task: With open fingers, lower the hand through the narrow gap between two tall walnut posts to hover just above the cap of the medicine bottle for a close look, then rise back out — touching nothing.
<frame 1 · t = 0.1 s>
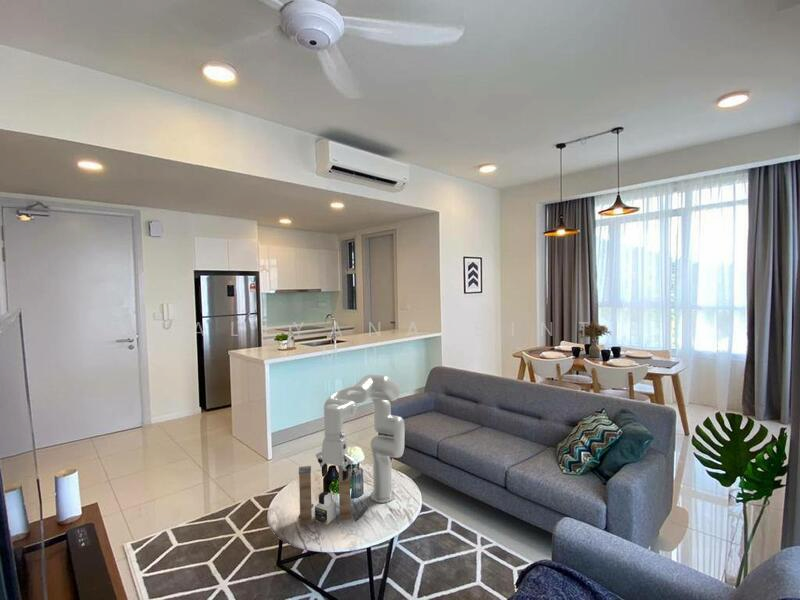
hand: (334, 477, 156), 31 cm above the table, fingers open, 9 cm apart
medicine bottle: (325, 519, 179), on the table
post 2: (345, 516, 181), on the table
post 1: (306, 521, 178), on the table
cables: (325, 518, 179), on the table
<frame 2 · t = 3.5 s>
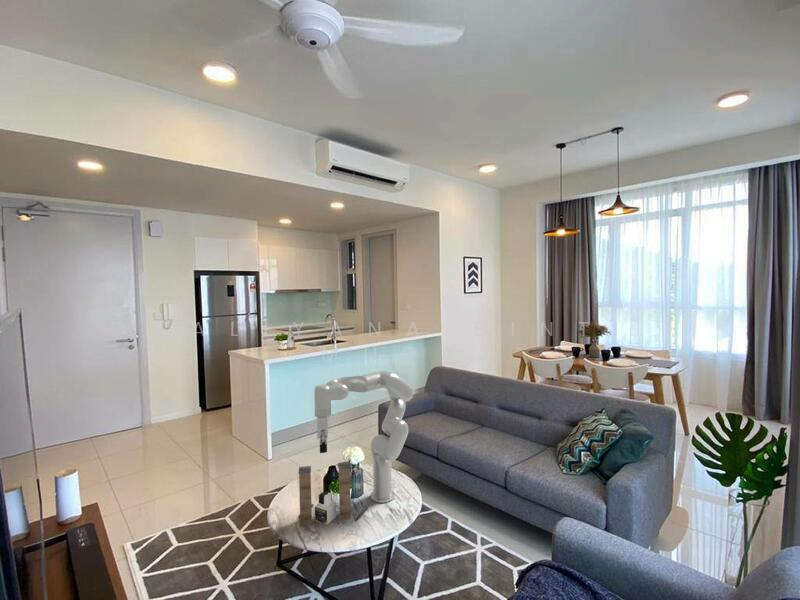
hand: (323, 448, 178), 34 cm above the table, fingers open, 9 cm apart
nothing on the table moved.
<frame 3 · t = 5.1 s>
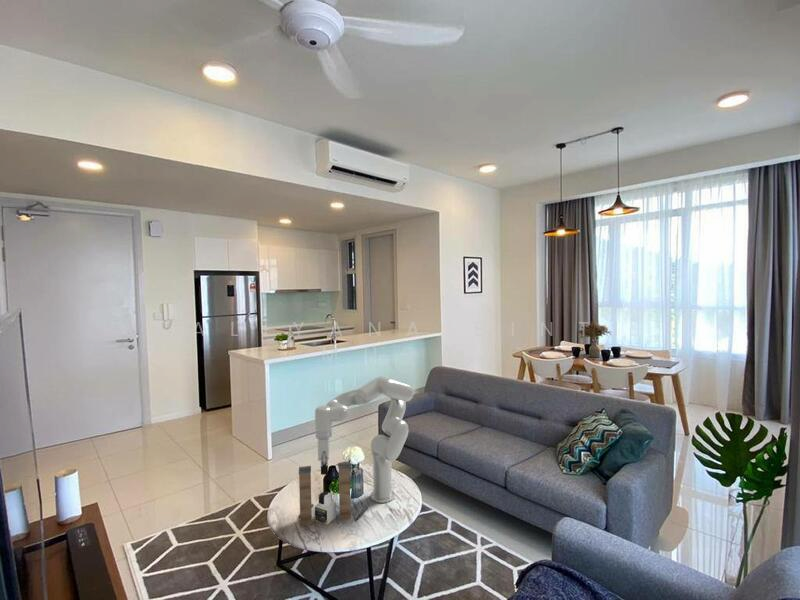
hand: (324, 469, 179), 24 cm above the table, fingers open, 9 cm apart
nothing on the table moved.
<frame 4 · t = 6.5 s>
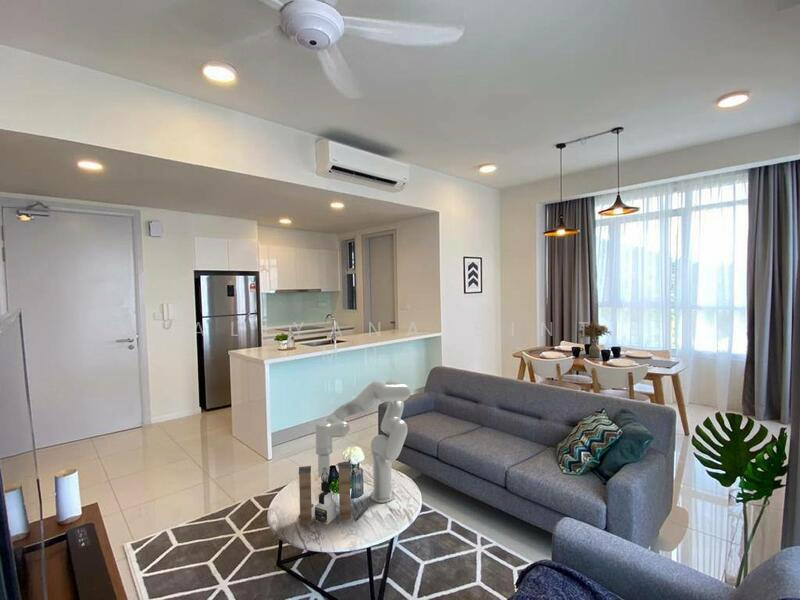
hand: (324, 485, 179), 16 cm above the table, fingers open, 9 cm apart
nothing on the table moved.
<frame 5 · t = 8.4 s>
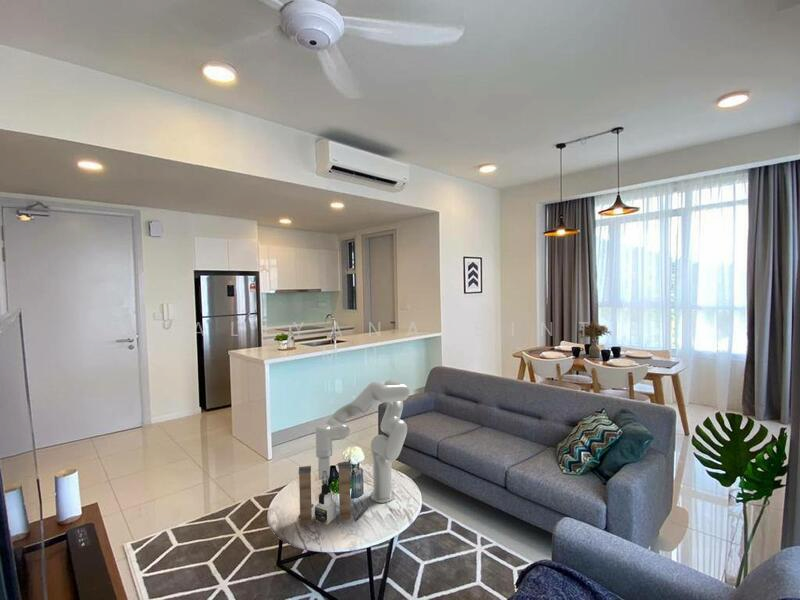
hand: (325, 487, 179), 15 cm above the table, fingers open, 9 cm apart
nothing on the table moved.
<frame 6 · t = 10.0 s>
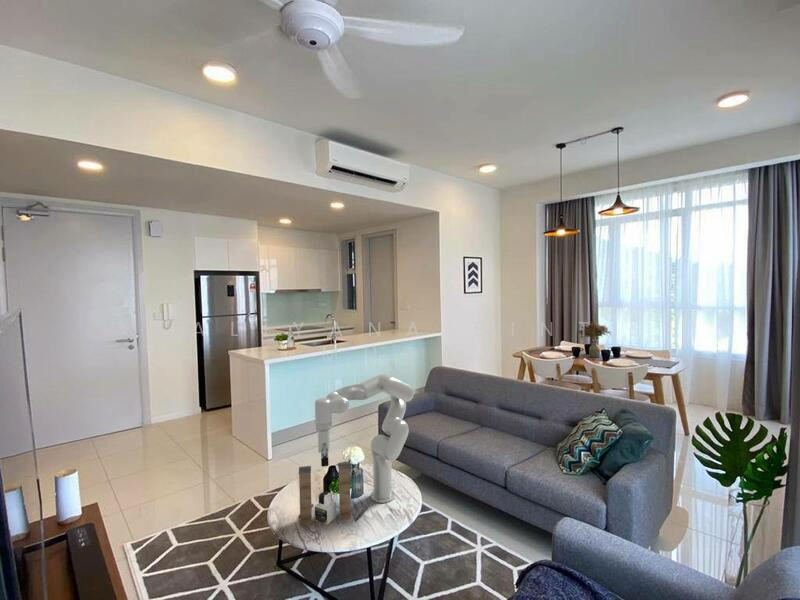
hand: (324, 461, 179), 27 cm above the table, fingers open, 9 cm apart
nothing on the table moved.
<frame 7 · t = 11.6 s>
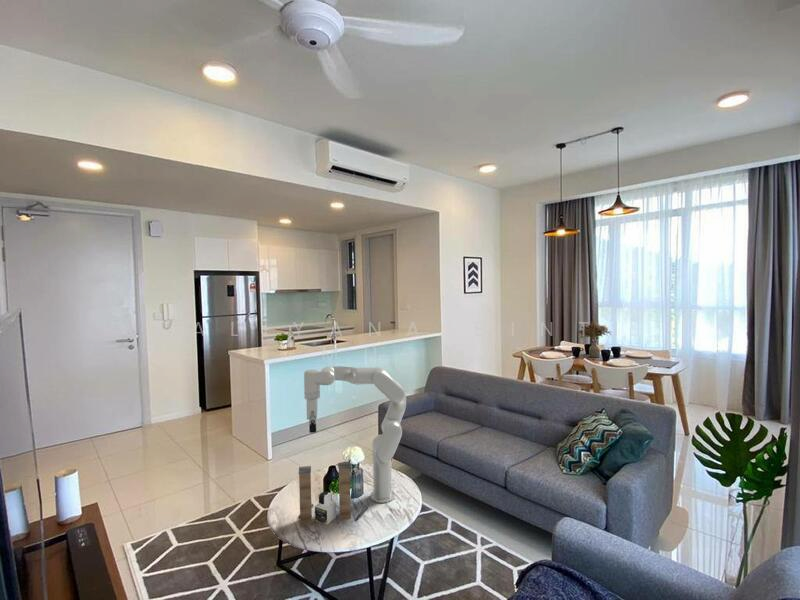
hand: (312, 428, 190), 39 cm above the table, fingers open, 9 cm apart
nothing on the table moved.
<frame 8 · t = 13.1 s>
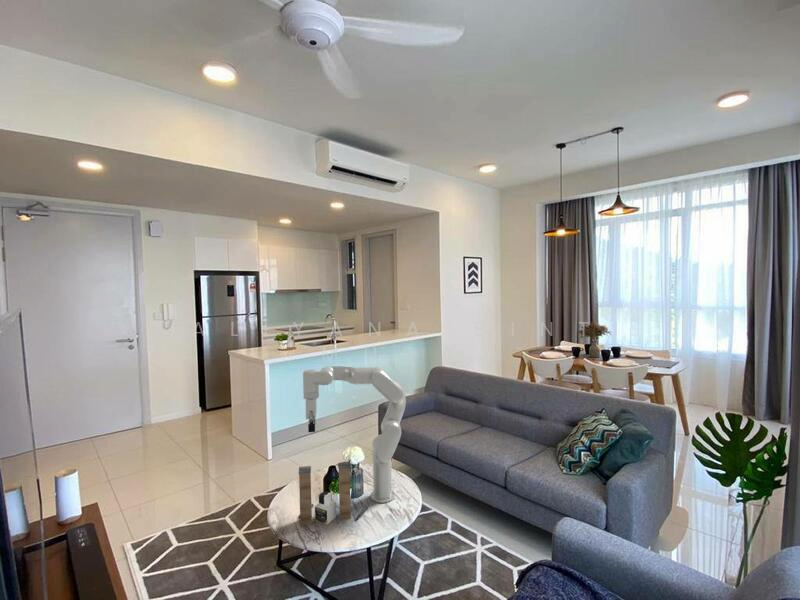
hand: (312, 428, 192), 38 cm above the table, fingers open, 9 cm apart
nothing on the table moved.
at the end: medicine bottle moved 0.2 cm from its start; post 2 moved 0.0 cm from its start; post 1 moved 0.0 cm from its start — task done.
